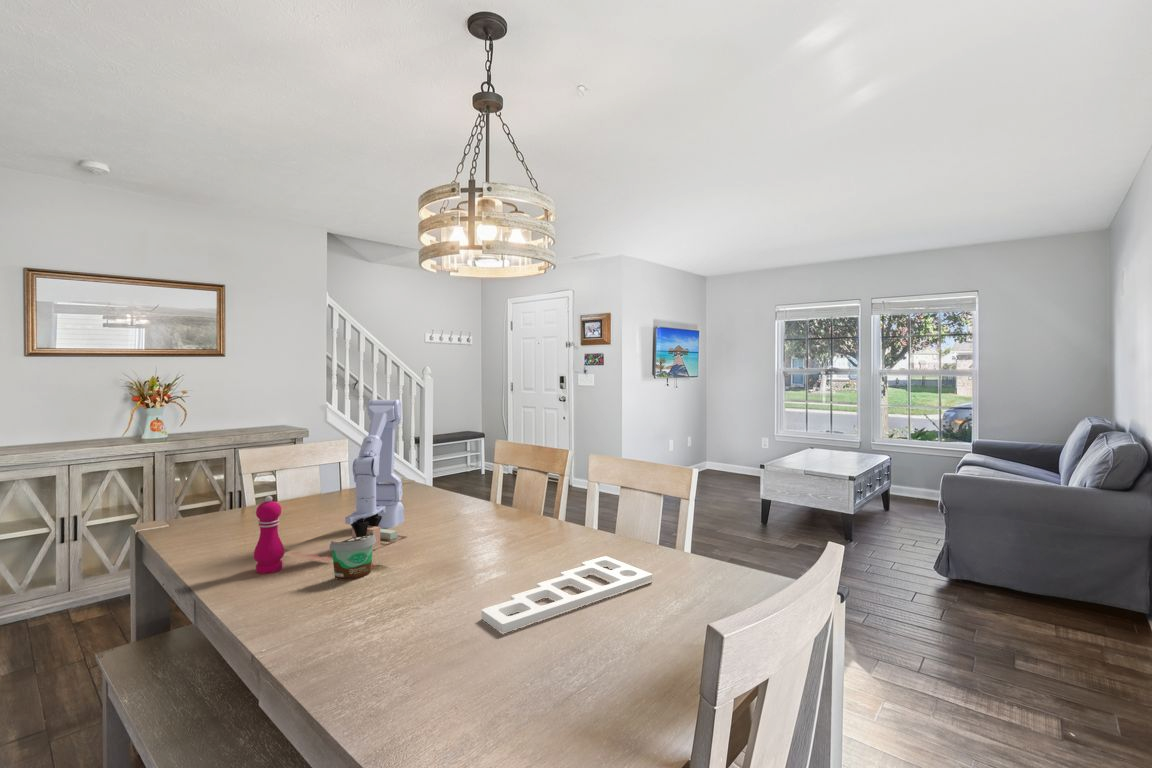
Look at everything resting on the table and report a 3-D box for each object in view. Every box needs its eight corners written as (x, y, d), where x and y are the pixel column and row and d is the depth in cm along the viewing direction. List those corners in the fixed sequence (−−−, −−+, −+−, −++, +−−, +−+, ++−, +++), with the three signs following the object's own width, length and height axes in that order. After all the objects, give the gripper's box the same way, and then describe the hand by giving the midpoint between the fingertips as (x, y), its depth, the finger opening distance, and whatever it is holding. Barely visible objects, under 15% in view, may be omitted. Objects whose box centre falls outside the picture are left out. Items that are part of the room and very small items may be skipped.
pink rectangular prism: (359, 546, 169) (359, 524, 169) (380, 550, 166) (380, 527, 166) (352, 549, 167) (352, 526, 167) (373, 553, 164) (373, 529, 164)
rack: (377, 536, 180) (377, 532, 179) (407, 541, 175) (407, 536, 175) (341, 550, 166) (341, 545, 166) (373, 556, 161) (373, 551, 161)
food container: (342, 585, 139) (342, 546, 139) (329, 579, 143) (329, 541, 143) (385, 571, 149) (385, 534, 149) (372, 566, 153) (372, 530, 152)
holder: (502, 637, 114) (502, 624, 114) (461, 607, 128) (461, 596, 128) (653, 584, 143) (653, 574, 143) (605, 565, 157) (605, 555, 157)
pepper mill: (271, 575, 146) (270, 499, 145) (247, 573, 147) (246, 498, 146) (290, 566, 153) (289, 493, 152) (267, 564, 154) (267, 492, 154)
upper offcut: (379, 534, 177) (379, 528, 177) (397, 537, 174) (397, 530, 174) (372, 537, 174) (372, 530, 174) (390, 539, 171) (390, 533, 171)
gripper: (372, 490, 174) (372, 533, 175) (337, 500, 161) (337, 547, 161) (390, 492, 172) (390, 536, 172) (355, 503, 158) (356, 550, 159)
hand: (366, 541), depth 167 cm, fingers closed on pink rectangular prism, 3 cm apart
